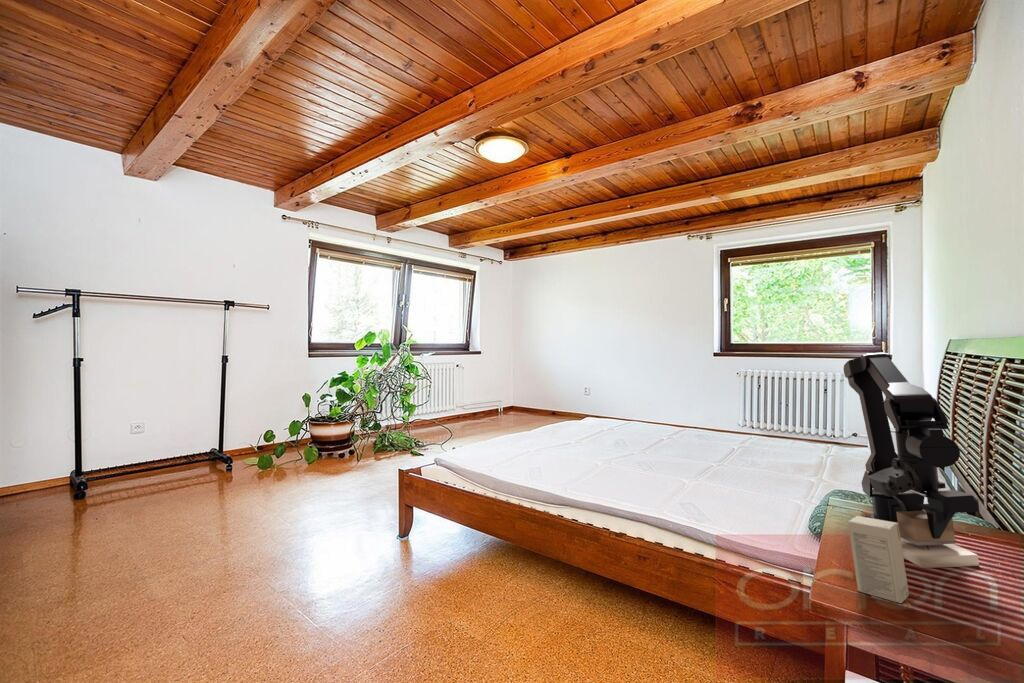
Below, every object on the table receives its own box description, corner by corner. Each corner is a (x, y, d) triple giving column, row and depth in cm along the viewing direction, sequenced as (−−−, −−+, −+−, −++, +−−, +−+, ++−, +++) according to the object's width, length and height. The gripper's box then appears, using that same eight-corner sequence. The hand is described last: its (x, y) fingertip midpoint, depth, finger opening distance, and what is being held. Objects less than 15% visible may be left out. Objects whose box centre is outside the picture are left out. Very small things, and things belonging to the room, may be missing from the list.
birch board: (883, 546, 95) (881, 536, 95) (933, 543, 94) (931, 534, 94) (922, 568, 85) (921, 557, 85) (979, 565, 84) (977, 554, 84)
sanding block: (899, 536, 92) (896, 511, 92) (935, 534, 92) (932, 509, 92) (917, 545, 88) (914, 519, 88) (955, 543, 87) (952, 517, 87)
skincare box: (909, 595, 76) (901, 522, 77) (901, 605, 74) (892, 529, 74) (864, 582, 82) (856, 513, 82) (854, 590, 79) (847, 520, 80)
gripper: (843, 448, 100) (851, 519, 100) (911, 468, 82) (922, 556, 81) (896, 445, 99) (904, 516, 99) (977, 465, 81) (988, 553, 80)
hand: (925, 533), depth 90 cm, fingers closed on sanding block, 4 cm apart
